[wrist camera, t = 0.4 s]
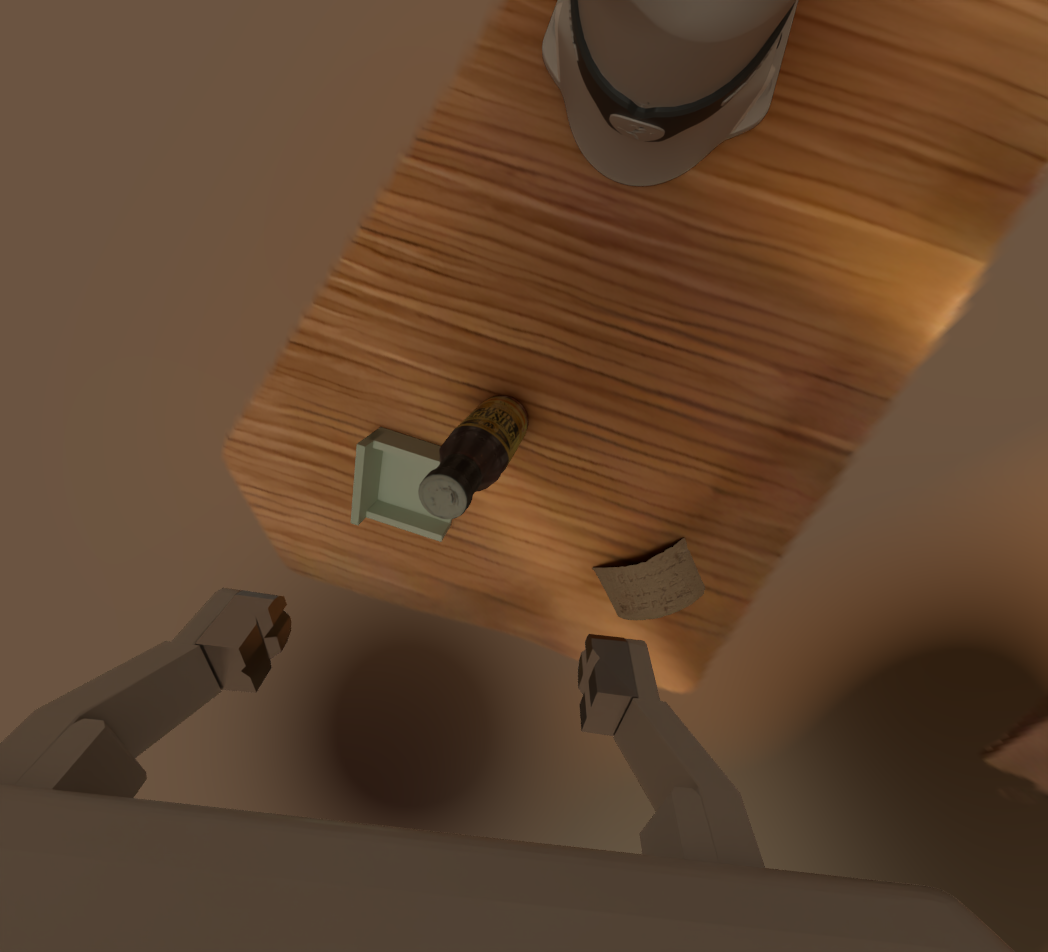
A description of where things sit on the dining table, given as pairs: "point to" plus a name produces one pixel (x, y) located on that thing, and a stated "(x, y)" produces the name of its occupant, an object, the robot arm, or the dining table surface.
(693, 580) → the grey curved piece
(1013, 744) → the dining table surface
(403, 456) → the caddy
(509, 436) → the sauce bottle
